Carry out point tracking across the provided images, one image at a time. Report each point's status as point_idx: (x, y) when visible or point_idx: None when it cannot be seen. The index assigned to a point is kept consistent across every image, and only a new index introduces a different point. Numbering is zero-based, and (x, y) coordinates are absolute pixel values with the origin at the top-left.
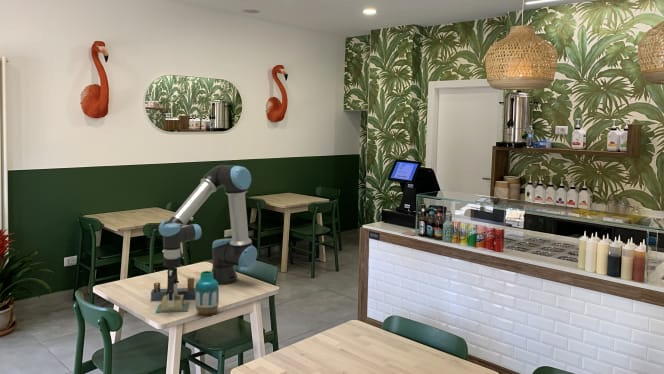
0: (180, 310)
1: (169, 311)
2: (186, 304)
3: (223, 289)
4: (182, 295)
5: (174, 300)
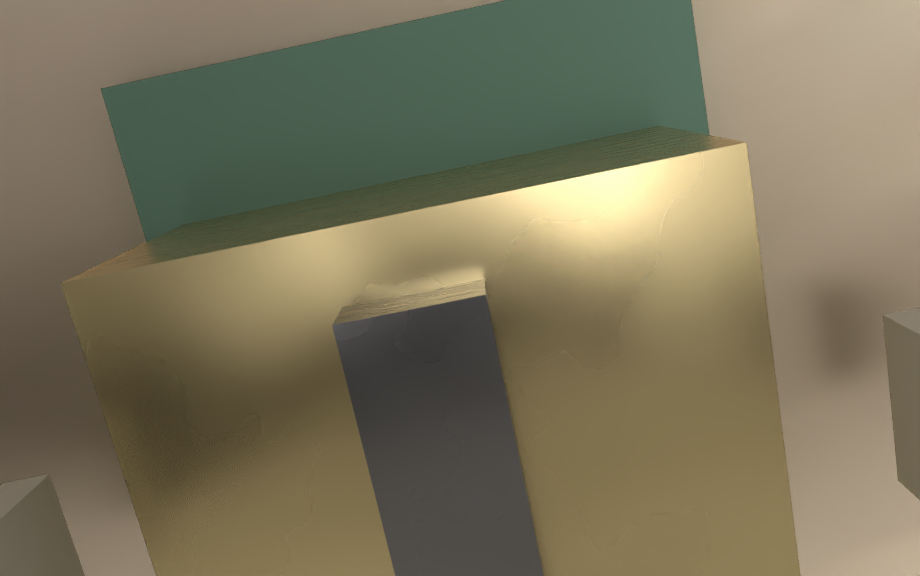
0: None
1: None
2: (221, 137)
3: None
4: (158, 297)
5: (738, 408)
